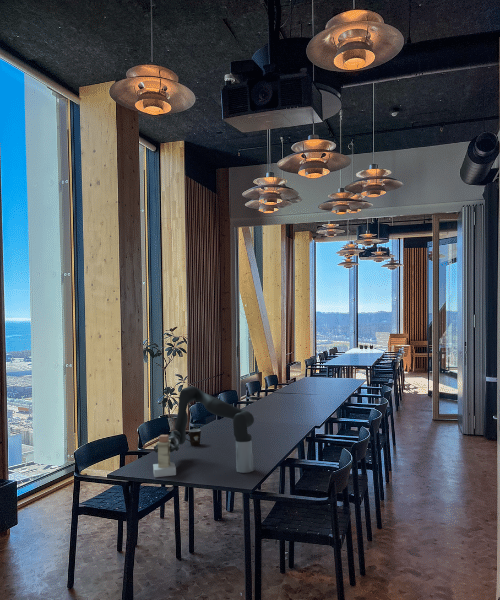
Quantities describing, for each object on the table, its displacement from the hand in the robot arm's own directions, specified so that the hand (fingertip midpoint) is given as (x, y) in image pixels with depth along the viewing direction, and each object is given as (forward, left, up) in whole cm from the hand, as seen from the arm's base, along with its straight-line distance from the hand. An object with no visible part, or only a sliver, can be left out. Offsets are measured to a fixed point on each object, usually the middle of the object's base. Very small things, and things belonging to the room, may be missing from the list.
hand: (163, 450), depth 282 cm
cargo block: (0, -1, +5) cm, 5 cm away
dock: (0, -1, -13) cm, 13 cm away
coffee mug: (-25, -61, -13) cm, 67 cm away
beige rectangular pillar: (0, -1, -9) cm, 9 cm away
